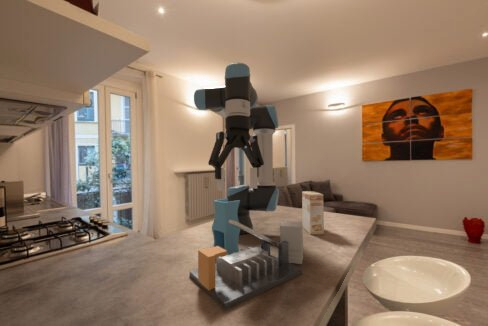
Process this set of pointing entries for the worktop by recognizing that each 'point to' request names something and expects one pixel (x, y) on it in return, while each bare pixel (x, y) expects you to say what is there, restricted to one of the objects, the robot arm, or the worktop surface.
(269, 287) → the heatsink
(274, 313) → the worktop surface
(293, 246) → the supplement box
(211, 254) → the lug slider
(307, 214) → the coffeecake box
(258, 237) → the strap
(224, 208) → the vase
